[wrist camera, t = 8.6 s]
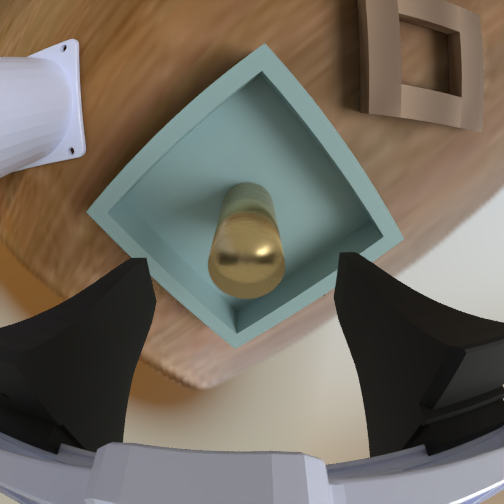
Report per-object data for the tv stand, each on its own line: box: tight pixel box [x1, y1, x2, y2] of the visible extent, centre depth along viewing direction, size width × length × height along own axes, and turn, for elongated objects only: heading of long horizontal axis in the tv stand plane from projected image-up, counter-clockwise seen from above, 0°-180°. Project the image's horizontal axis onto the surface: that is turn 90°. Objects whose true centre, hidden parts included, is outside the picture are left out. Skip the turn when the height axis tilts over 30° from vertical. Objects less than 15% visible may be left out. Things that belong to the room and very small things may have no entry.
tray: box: [87, 44, 404, 349], centre depth 17 cm, size 13×13×3 cm
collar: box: [357, 0, 484, 133], centre depth 13 cm, size 8×8×2 cm
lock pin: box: [208, 182, 285, 299], centre depth 15 cm, size 3×3×7 cm
